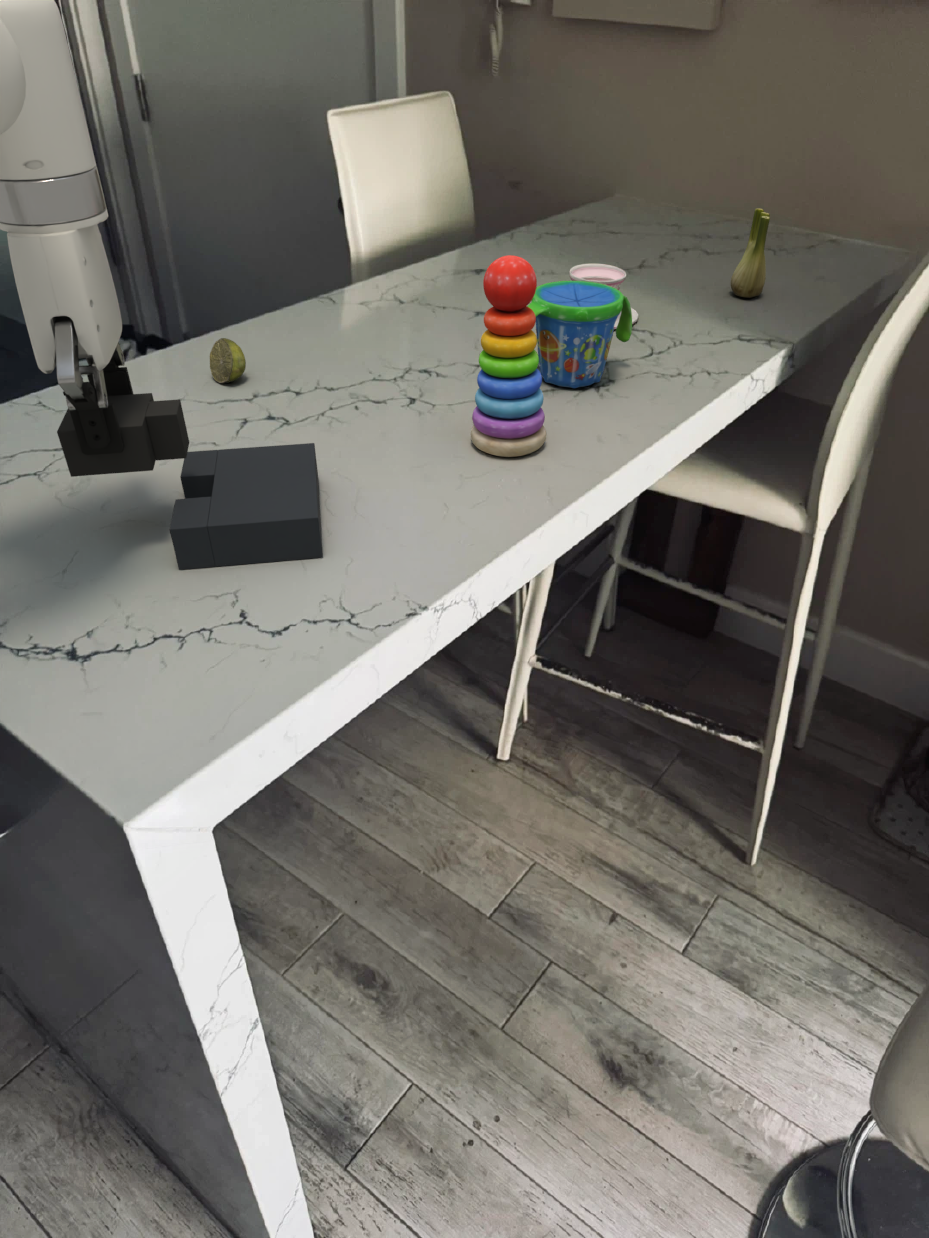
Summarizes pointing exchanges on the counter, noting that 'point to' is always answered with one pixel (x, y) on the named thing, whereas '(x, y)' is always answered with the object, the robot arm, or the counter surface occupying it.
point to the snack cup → (577, 329)
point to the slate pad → (248, 507)
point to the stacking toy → (509, 365)
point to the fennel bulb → (752, 259)
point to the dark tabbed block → (131, 437)
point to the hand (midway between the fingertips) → (111, 430)
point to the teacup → (601, 279)
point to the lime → (226, 361)
